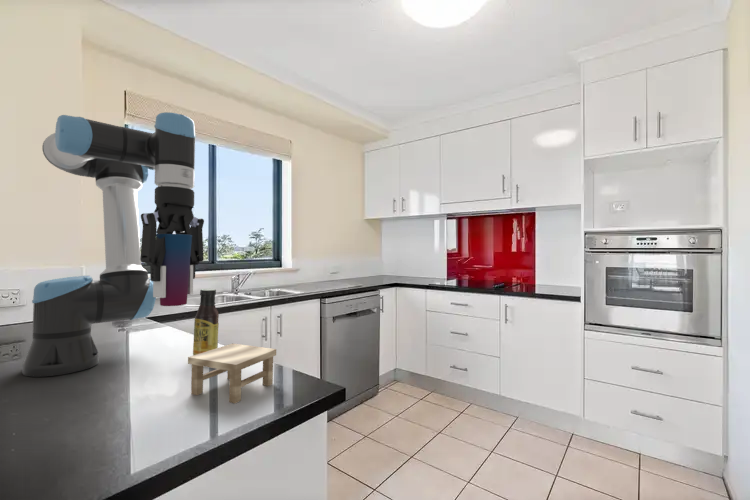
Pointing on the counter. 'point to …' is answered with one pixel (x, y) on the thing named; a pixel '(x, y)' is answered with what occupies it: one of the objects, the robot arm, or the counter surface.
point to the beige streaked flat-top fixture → (232, 367)
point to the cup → (176, 268)
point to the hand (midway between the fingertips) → (173, 295)
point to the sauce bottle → (206, 323)
